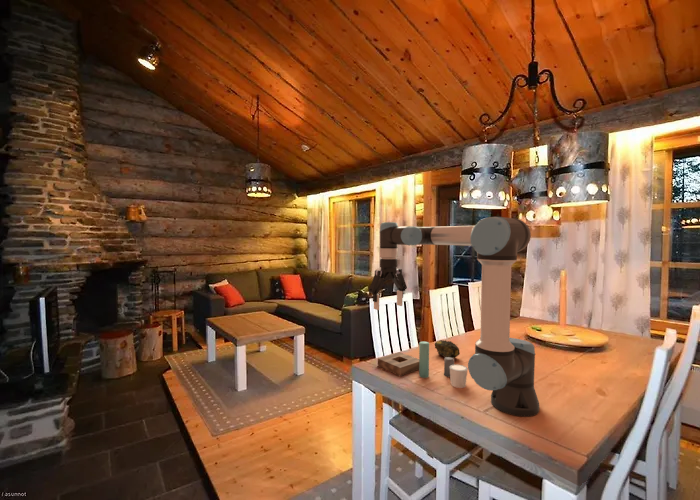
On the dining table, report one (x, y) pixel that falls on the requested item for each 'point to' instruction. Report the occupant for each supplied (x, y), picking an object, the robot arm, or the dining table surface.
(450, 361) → the short dowel
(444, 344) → the rock
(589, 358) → the dining table surface
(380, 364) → the hole block
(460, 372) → the shot glass
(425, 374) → the long dowel
